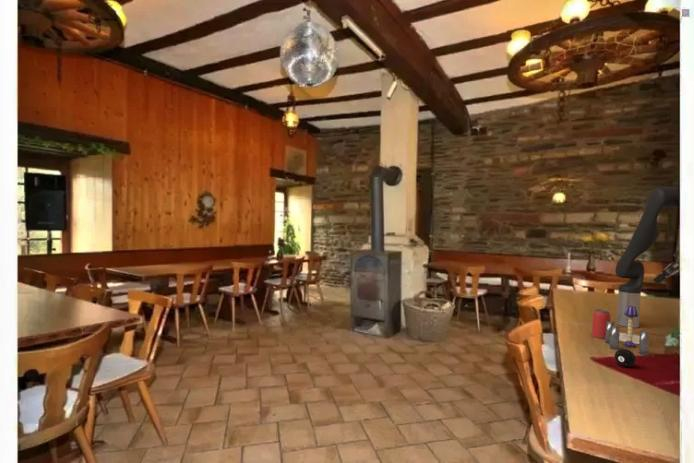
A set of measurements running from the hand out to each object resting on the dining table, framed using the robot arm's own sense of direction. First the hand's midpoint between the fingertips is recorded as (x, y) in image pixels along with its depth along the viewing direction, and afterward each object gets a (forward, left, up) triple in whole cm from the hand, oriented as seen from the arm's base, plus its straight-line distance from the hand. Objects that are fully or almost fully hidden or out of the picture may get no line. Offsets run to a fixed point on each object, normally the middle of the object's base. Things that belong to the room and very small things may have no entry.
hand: (656, 281), depth 159 cm
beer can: (-1, -19, -28) cm, 34 cm away
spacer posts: (+9, -7, -28) cm, 30 cm away
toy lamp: (+3, -7, -28) cm, 29 cm away
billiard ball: (+34, 0, -28) cm, 44 cm away
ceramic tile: (-9, -10, -28) cm, 31 cm away
